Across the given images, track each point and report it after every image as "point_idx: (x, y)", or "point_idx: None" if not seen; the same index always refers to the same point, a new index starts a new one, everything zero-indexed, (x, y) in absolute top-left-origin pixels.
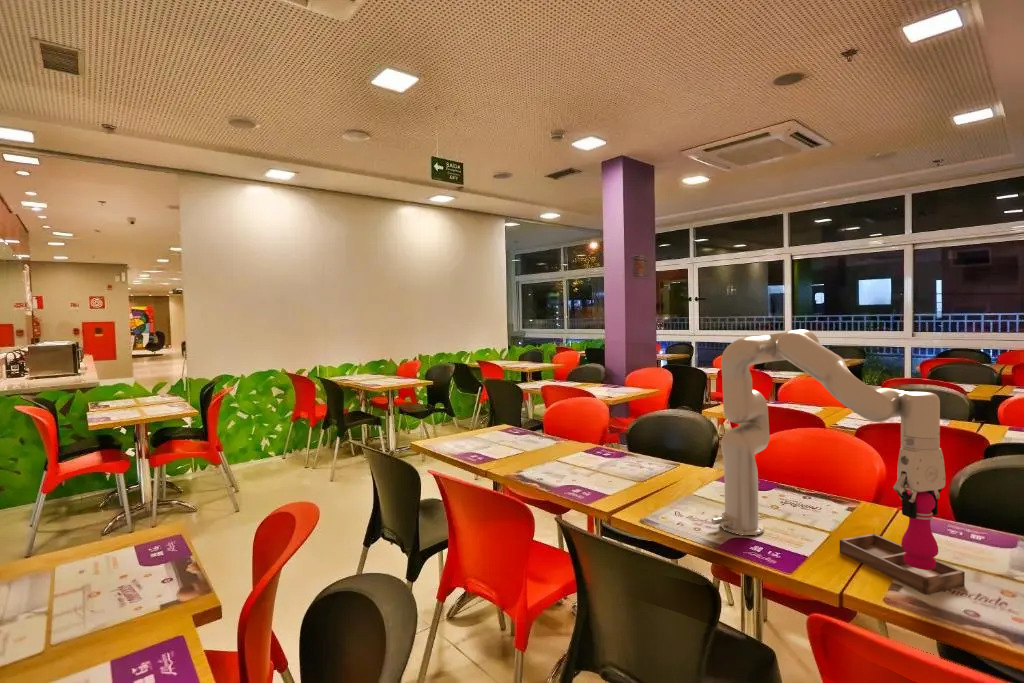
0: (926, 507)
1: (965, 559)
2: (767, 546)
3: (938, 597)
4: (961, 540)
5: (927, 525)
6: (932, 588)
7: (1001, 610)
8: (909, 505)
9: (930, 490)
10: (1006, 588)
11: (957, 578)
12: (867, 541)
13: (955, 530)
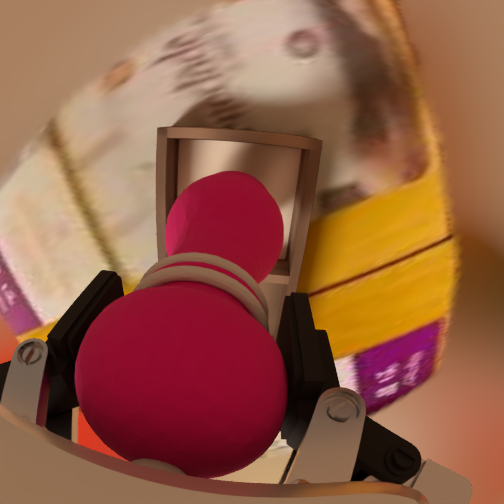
0: (235, 312)
1: (54, 219)
2: (367, 392)
3: (297, 116)
4: (14, 272)
5: (213, 244)
6: (292, 135)
7: (220, 24)
8: (334, 376)
9: (119, 463)
10: (97, 92)
11: (190, 127)
12: None
13: (5, 296)
